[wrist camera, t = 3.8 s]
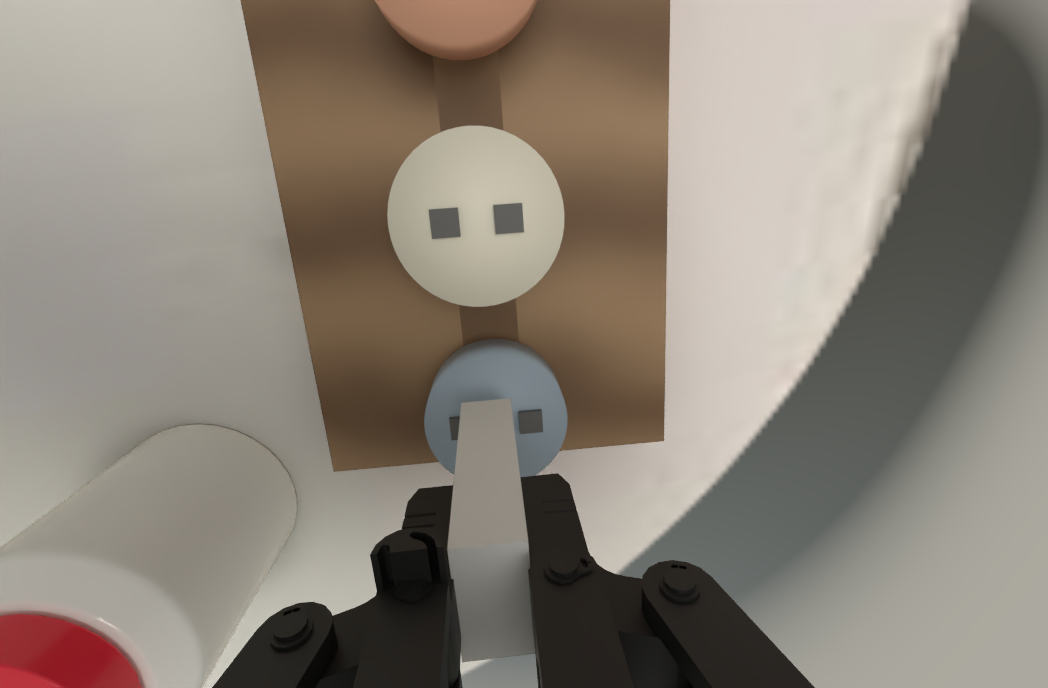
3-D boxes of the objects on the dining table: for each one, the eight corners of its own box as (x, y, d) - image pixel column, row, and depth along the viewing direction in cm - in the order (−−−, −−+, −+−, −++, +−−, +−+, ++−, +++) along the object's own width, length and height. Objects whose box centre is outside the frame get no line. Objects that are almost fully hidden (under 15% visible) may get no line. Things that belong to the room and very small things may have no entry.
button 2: (400, 144, 18) (373, 131, 14) (544, 134, 18) (561, 118, 14) (418, 287, 19) (399, 315, 15) (551, 276, 20) (569, 301, 15)
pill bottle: (332, 519, 25) (215, 767, 14) (202, 595, 25) (-1, 885, 15) (221, 392, 22) (-14, 572, 12) (83, 478, 23) (-255, 721, 13)
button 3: (429, 328, 21) (414, 363, 17) (550, 319, 21) (565, 351, 17) (442, 438, 23) (432, 495, 18) (555, 428, 23) (571, 482, 19)
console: (248, -77, 18) (219, -109, 16) (652, -96, 18) (671, -128, 16) (346, 448, 23) (333, 471, 22) (650, 420, 24) (664, 440, 22)
